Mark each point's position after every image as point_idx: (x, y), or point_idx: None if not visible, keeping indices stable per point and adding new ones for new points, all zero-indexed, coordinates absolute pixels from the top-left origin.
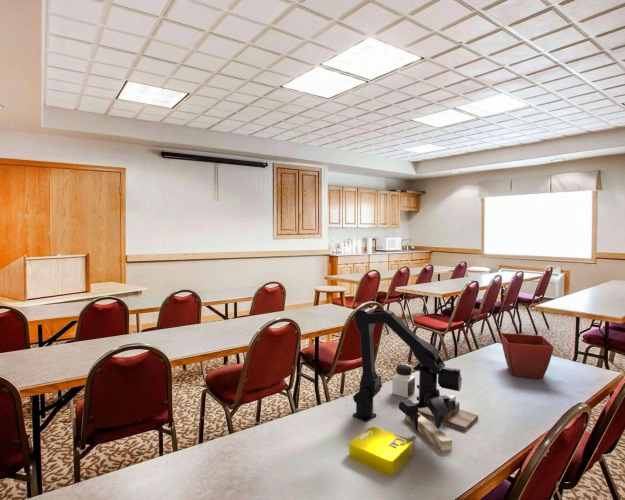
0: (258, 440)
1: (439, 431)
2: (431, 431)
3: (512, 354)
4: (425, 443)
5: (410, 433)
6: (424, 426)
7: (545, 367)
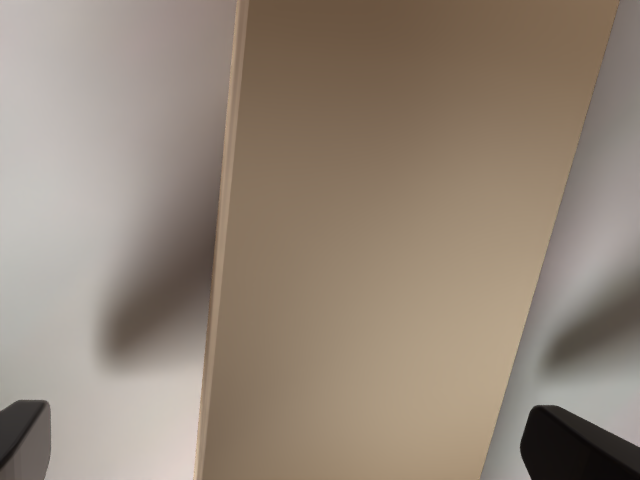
0: None
1: (315, 72)
2: (544, 174)
3: None
4: None
5: None
6: (486, 448)
7: None
